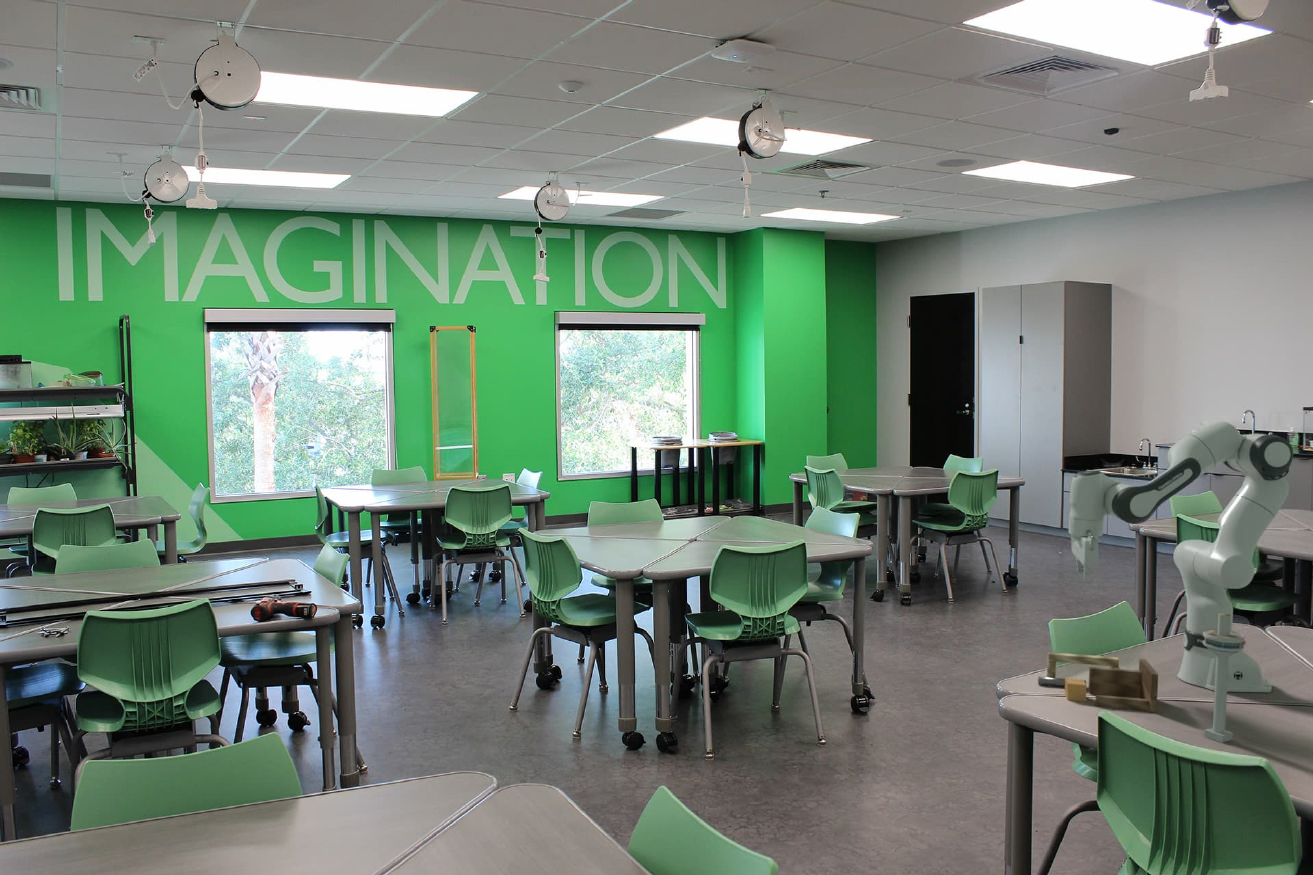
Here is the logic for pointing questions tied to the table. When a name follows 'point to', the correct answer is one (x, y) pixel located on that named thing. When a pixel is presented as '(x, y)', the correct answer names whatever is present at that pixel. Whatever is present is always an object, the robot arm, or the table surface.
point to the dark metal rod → (1052, 681)
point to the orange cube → (1075, 689)
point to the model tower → (1221, 672)
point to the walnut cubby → (1125, 687)
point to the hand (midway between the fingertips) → (1083, 576)
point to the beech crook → (1078, 661)
